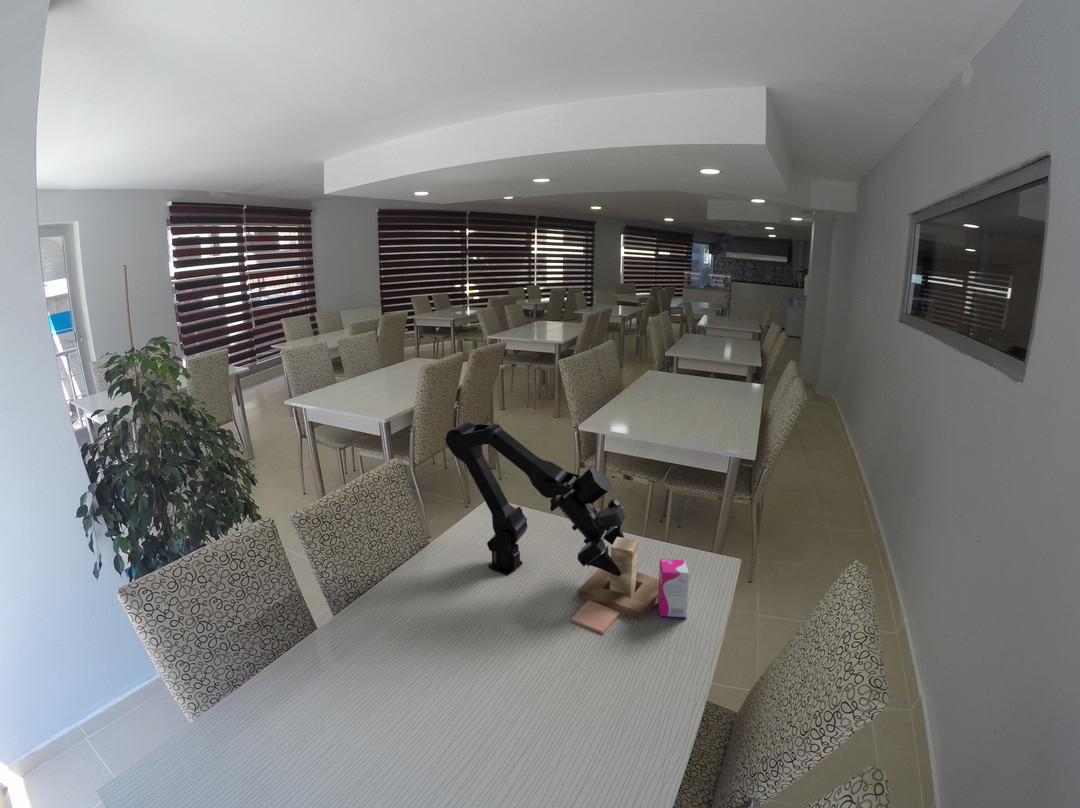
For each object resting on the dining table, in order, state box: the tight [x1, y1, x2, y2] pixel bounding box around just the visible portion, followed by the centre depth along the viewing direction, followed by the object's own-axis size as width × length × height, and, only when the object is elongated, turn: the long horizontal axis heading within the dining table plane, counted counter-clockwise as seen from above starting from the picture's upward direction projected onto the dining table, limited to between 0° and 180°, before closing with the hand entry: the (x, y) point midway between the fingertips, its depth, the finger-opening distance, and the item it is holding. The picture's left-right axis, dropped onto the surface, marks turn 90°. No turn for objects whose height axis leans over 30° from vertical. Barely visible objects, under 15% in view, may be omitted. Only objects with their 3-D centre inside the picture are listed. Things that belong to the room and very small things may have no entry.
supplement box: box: [657, 558, 690, 620], centre depth 126 cm, size 6×6×12 cm
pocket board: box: [577, 568, 659, 622], centre depth 134 cm, size 16×14×2 cm
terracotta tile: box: [570, 600, 621, 635], centre depth 125 cm, size 8×8×1 cm
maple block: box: [609, 537, 639, 598], centre depth 132 cm, size 5×5×13 cm
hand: (625, 564), depth 132 cm, fingers open, 9 cm apart
